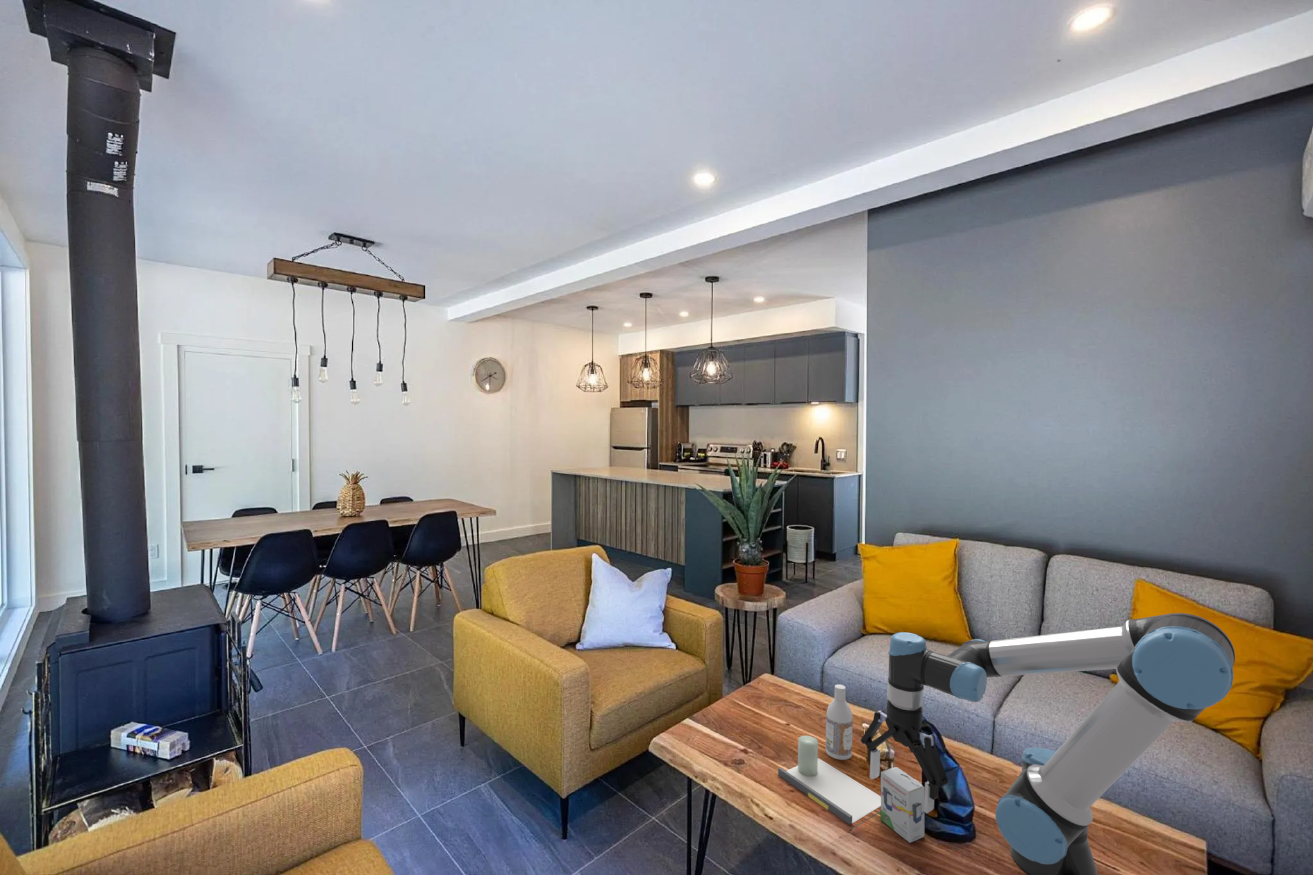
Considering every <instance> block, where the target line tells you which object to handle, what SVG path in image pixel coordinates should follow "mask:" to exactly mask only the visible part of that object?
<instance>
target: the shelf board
mask: <svg viewBox="0 0 1313 875" xmlns="http://www.w3.org/2000/svg"><path fill="white" fill-rule="evenodd" d="M777 769H778V770H777V773H778V774H777V776H779V777H781V778H782V779H783V780H784V781H786V782H787V783H789V784H790V785H792V786H793V787H794V788H796V789H798V790H799V791H800V792H801V793H803V794H805V795H806V796H808V798H810V799H812V801H814V802H816V803H817V804H818V805H820V806H821V807H822V808H824V809H826V810H827V811H829V812H831V813H832V814H833V815H835V816H836V817H837V818H840V819H841V820H842V821H844V822H845V823H846V824H848V825H852V824H854V823H855V822H857V821H859V820H860V819H862V818H863V817H865V816H867V815H869V814H870V813H873V811H876V810H877V809H878V808H881V795H880V794H878V793H877V792H874V791H873V790H871V789H869V788H868V787H867V786H864V785H863V784H861V783H860V782H858V781H856V780H855V779H853V778H851V777H850V776H848V775H847V774H845V773H844V772H842V771H841V770H838V769H837V768H835V767H834V766H832V765H831V764H829V763H827V762H826V761H824V760H822V759H821V758H819V757H818V767H817V775H815V776H812V777H808V776H804V775H802V774H800V773H799V771H798V765H796V766H794V767H791V768H790V769H788V770H785V769H784V768H782V767H778V768H777ZM878 814H881V810H880V811H878V812H876V813H875V814H873V815H871V816H870V817H868V818H867V819H865V820H864V821H862V822H860V823H859V824H856V825H855V826H854V827H852V828H850V829H849V832H851V831H852V830H854V829H856V828H857V827H859V826H860V825H862V824H863V823H866V821H869V820H871V819H872V818H873V817H875V816H876V815H878Z"/></svg>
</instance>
